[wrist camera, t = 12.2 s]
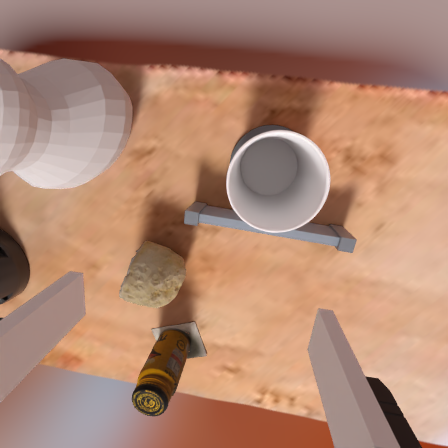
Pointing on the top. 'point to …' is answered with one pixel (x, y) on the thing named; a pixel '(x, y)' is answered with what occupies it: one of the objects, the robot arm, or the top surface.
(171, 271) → the beige rough lump
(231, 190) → the cup
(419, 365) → the top surface
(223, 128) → the top surface
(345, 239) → the grey barrier wall
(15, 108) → the soap bottle
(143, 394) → the condiment
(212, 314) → the top surface
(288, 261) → the top surface
